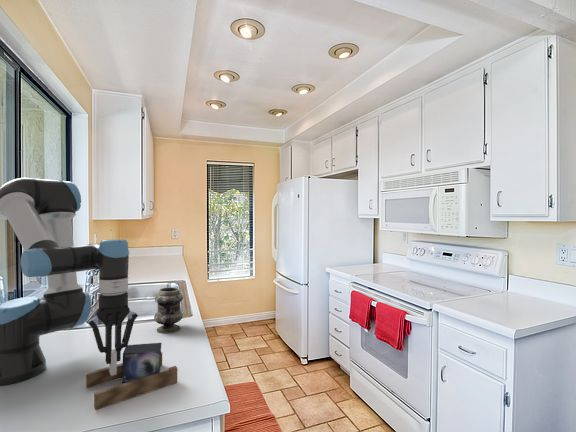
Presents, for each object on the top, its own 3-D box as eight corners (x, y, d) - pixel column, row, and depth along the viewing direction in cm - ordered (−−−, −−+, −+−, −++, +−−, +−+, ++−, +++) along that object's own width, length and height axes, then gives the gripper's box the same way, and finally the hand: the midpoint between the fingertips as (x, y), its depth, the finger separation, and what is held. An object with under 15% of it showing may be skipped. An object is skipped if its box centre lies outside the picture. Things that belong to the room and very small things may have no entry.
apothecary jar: (183, 332, 141) (184, 291, 141) (154, 335, 137) (154, 293, 136) (181, 323, 152) (182, 285, 152) (154, 326, 148) (154, 287, 147)
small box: (120, 388, 95) (121, 353, 95) (124, 378, 102) (125, 344, 101) (159, 384, 99) (160, 350, 98) (160, 374, 105) (161, 341, 105)
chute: (95, 409, 86) (95, 392, 86) (85, 385, 97) (86, 370, 97) (177, 382, 100) (177, 367, 100) (160, 364, 111) (160, 351, 111)
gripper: (90, 298, 88) (89, 385, 88) (140, 291, 96) (140, 371, 96) (86, 293, 93) (85, 375, 93) (134, 287, 102) (133, 362, 101)
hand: (112, 373), depth 94 cm, fingers closed
